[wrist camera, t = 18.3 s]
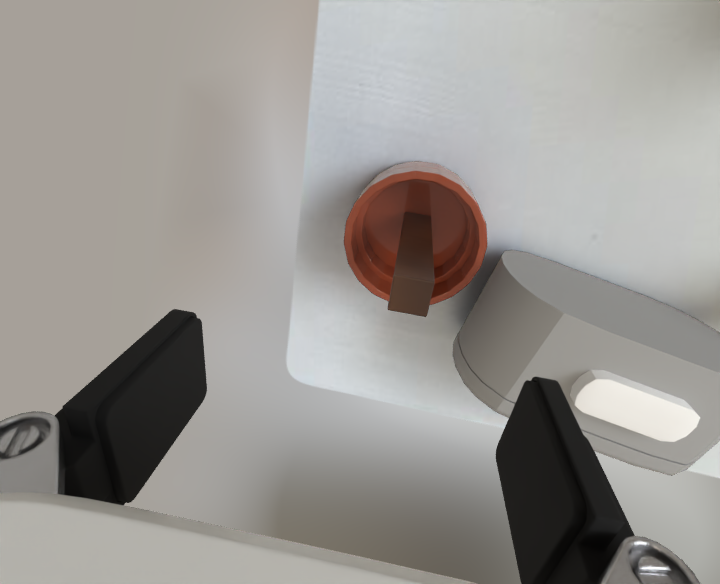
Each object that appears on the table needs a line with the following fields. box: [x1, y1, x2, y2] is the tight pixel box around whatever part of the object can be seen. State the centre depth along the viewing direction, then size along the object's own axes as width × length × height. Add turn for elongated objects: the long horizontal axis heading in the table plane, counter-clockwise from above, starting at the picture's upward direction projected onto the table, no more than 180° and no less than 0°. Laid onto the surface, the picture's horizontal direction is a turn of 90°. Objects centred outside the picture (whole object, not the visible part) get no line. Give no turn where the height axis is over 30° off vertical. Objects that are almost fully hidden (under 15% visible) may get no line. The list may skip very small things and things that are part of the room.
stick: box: [388, 212, 435, 317], centre depth 29 cm, size 2×2×14 cm
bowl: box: [344, 161, 487, 305], centre depth 33 cm, size 11×11×6 cm
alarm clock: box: [453, 250, 720, 476], centre depth 32 cm, size 21×10×13 cm, turn 71°
